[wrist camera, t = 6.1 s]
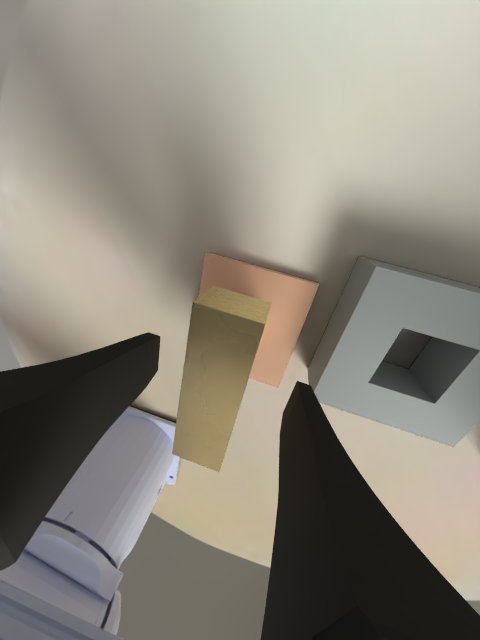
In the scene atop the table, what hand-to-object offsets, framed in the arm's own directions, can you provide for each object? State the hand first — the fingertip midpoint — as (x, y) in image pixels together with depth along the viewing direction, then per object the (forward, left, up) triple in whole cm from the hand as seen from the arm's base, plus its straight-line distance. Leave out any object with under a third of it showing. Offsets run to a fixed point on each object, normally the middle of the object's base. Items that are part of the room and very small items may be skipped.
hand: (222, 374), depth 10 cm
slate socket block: (+2, -9, -6) cm, 11 cm away
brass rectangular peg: (0, 0, -5) cm, 5 cm away
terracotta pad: (0, 0, -6) cm, 6 cm away
